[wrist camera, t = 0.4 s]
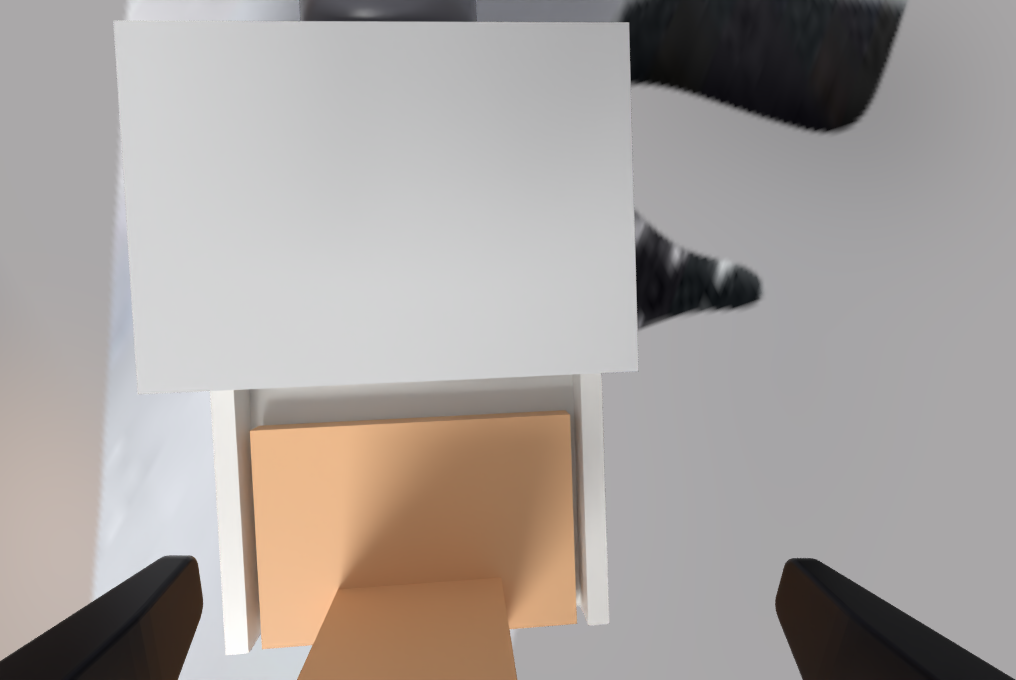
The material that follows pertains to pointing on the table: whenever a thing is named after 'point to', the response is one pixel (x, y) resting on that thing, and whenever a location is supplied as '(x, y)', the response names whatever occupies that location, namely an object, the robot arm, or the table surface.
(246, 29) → the camera case
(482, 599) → the tan boxy piece
